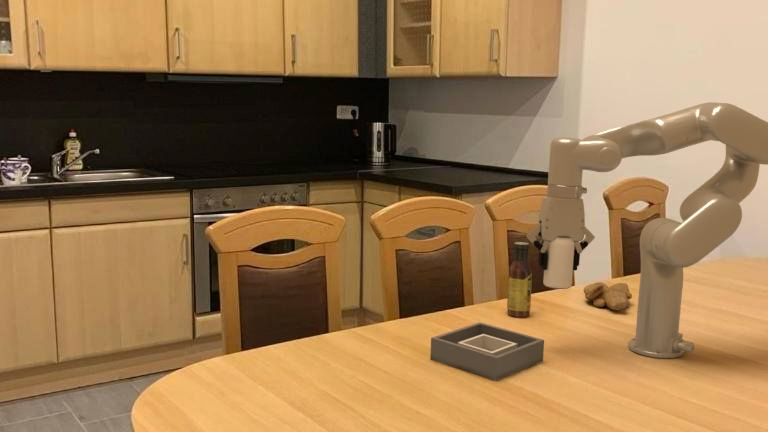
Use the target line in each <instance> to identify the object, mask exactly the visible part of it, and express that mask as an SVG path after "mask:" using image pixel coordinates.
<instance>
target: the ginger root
mask: <svg viewBox="0 0 768 432" xmlns="http://www.w3.org/2000/svg"><path fill="white" fill-rule="evenodd" d="M583 293H584V297H585V299H586V300H587V301H590V302H593V306H594V307H596V308H603V307H607V308H609V310H613V311H619V310H624V309H625V308H626V307H627V306H629V305H630V300H631V299H632V298H633V295H632V294H633V293H631V292H630V290H629V285H628V284H627V283H625V282H624V283H623V282H620V283H619V282H617V283H615V284H613V285H609V286H608V285H607V284H606V283H604V282H602V281H601V282H595V283H591V284H590V283H589V284H587V285H585V286H584V287H583Z"/></svg>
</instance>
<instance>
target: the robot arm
mask: <svg viewBox="0 0 768 432" xmlns="http://www.w3.org/2000/svg"><path fill="white" fill-rule="evenodd" d="M710 141H713V142H720V143H722V144H724V145H725V159H724V162H723V165H722V166H721V168H719V170H718V171H717V172H716V173H715V174H714V175H713V176H712V177H710V178H709V179H707V181H705V182H704V183H703V184H701V185H700V186H699V187H698V188H696V189H695V190H694V191H692V192H691V193H690V194H688V195H687V196H686V197H685V198H684V199H683V201H682V203H681V204H680V206H679V217H680V218H681V220H682V222H679V221H676V220H675V219H672V218H667V217H657V218H654V219H652V220H650V221H648V222H647V223H646V224H645V225H644V227H643V228H642V230H641V233H640V237H639V253H640V254H639V255H640V277H639V278H640V279H639V288H638V299H637V300H638V301H637V311H636V312H637V315H636V326H635V327H636V328H635V336H634V337H633V338H631V339H629V340H628V344H627V346H628V349H629V350H631V351H632V352H634V353H635V354H639V355H643V356H646V357H651V358H659V359H674V358H679V357H681V356H683V355H684V352H686V353H690V354H693V353H694V351H695V345H694V342H692V341H687V340H684V339H683V333H681V332H680V333H679V330H680V321H681V320H680V319H681V318H680V317H681V310H682V309H681V308H682V307H681V306H682V297H683V289H684V288H683V286H684V268H688V267H691V266H693V265H696V264H698V262H700V261H701V260H703V259H704V258H705V257H707V256H708V255H709V254H711V252H713V251H714V250H716V249H717V248H718V247H719V246H720V245H722V244H723V243H724V242H725V241H727V240H728V239H729V238H730V237H732V236H733V234H734V233H736V231H737V230H738V229H739V226H740V225H741V223H742V218H743V209H742V206H741V205H740V203H741V202H742V201H744V200H745V199H746V198H747V197H748V196H749V195H750V194H751V193H752V191H754V189H755V187H756V186H757V182H758V179H759V173H760V165H765V166H766V165H768V121H766V120H764V119H762V118H760V117H759V116H756V115H754V114H752V113H750V112H748V111H747V110H745V109H743V108H742V107H739V106H737V105H735V104H731V103H726V102H712V101H711V102H704V103H699V104H697V105H693V106H690V107H687V108H683V109H680V110H677V111H674V112H670V113H668V114H663V115H660V116H657V117H653V118H650V119H647V120H646V119H645V120H642V121H639V122H634V123H631V124H627V125H622V126H619V127H615V128H612V129H607V130H604V131H601V132H598V133H594V134H591V135H588V136H585V137H584V138H582V139H580V138H574V137H555V138H553V139H552V140H551V142H550V147H549V163H548V176H547V191H546V196H543V197H542V199H541V204H540V209H539V213H538V218H537V225H536V226H535V227H533V228H532V229H531V230H530V231H529V232H528V233H527V234H526V238H527V239H528V240H529V241H530V242H531V244H533V246H534V247H535V248H536V249H537V250H538V260H537V261H538V266H539V267H540V269H541V270H543V271H544V270H546V269H547V261H548V253H546V250H547V248H548V246H549V244H550V242H552V241H555V240H556V237H572V238H571V240H572V241H573V242H574V243H575V247H574V261H573V271H578V267H579V266H580V261H581V260H580V257H581V254H582V253H583V252H584V250H585V249H586V248H587V247H588V246H589V244H591V243H592V242H593V241H594V239H595V235H594V234H593V233H592V232H591V231H590V230H589V229H588V228H587V226H586V219H585V218H586V216H585V215H586V214H585V213H586V212H585V205H584V199H583V198H581V197H582V195H584V194H587V193H588V188H587V187H584V186H583V185H582V183H583V171H584V170H585V171H591V172H596V173H608V172H611V171H614V170H616V169H617V168H618V167H619V165H620V164H621V162H622V160H623V159H626V158H630V157H638V156H639V157H640V156H641V157H642V156H643V157H644V156H645V157H647V156H648V157H650V156H661V155H667V154H669V153H672V152H675V151H679V150H681V149H684V148H688V147H691V146H694V145H695V146H696V145H698V144H701V143H704V142H710ZM536 236H537V237H538V238H540V239H541V240H540V241H539V240H538V239H537V237H536Z"/></svg>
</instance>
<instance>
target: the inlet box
mask: <svg viewBox="0 0 768 432" xmlns="http://www.w3.org/2000/svg"><path fill="white" fill-rule="evenodd" d="M544 349H545V339H541V338H539V337H535V336H531V335H529V334H524V333H520V332H516V331H513V330H509V329H506V328H501V327H498V326H496V325H495V326H494V325H492V324H487V323H483V322H481V321H480V322H476V323H472V324H469V325H467V326H463V327H460V328H457V329H454V330H452V331H451V330H450V331H449V332H448V331H447V332H446V333H442V334H440V335H435V336H432V337H431V338H430V357H429V358H430V359H429V360H432V361H435V362H437V363H440V364H443V365H447V366H450V367H452V368H455V369H459V370H461V371H464V372H467V373H469V374H472V375H473V374H474V375H476V376H480V377H482V378H486V379H489V380H492V381H495V382H496V381H499V380H502V379H504V378H506V377H509V376H511V375H514V374H516V373H519V372H521V371H523V370H526V369H528V368H530V367H532V366H535V365H538V364H540V363H541V362H544V351H545V350H544Z"/></svg>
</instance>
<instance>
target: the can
mask: <svg viewBox="0 0 768 432" xmlns="http://www.w3.org/2000/svg"><path fill="white" fill-rule="evenodd" d="M571 238H572V237H556V240H555V241H552V242H550V244H549V246H548V248H547V250H546V253H548V261H547V269H546V270H543V285H544V287H547V288H549V289H554V290H555V289H556V290H567V289H570V288H571V287H572V284H573V274H574V272H573V271H574V270H573V261H574V247H575V243H574V242H573V241H572V240H571Z"/></svg>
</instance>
